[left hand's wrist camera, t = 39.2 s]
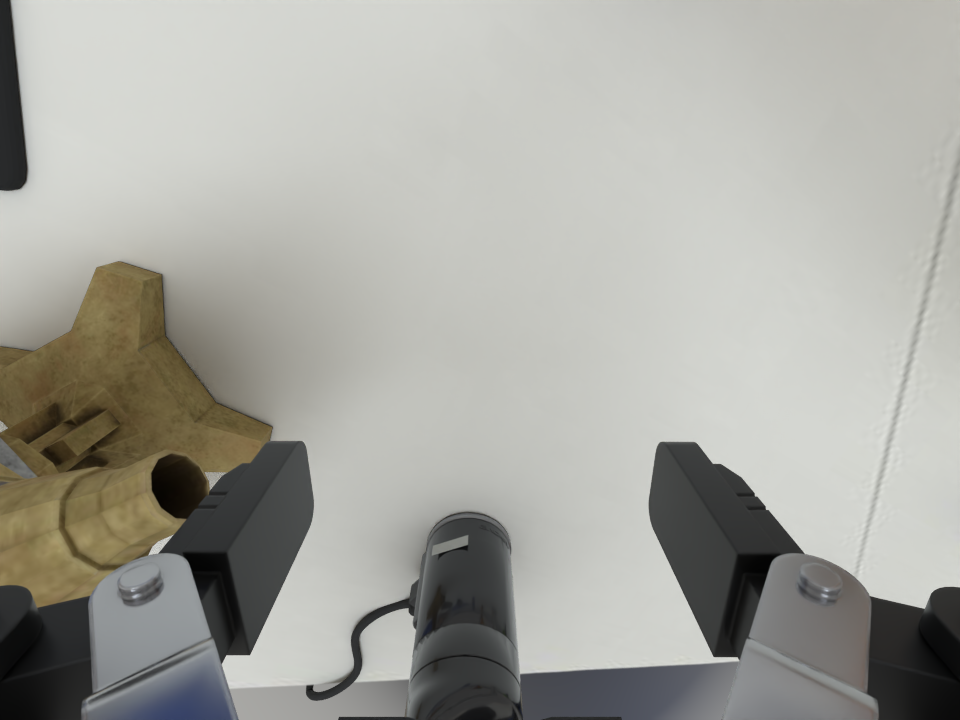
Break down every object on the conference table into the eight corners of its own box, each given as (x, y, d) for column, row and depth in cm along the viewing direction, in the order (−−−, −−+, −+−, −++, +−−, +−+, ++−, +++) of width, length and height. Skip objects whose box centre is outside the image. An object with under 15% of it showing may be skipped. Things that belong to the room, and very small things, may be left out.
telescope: (433, 379, 50) (293, 1033, 12) (115, 526, 56) (-608, 1249, 19) (304, 155, 42) (-1003, 103, 5) (-45, 354, 49) (-1758, 979, 11)
